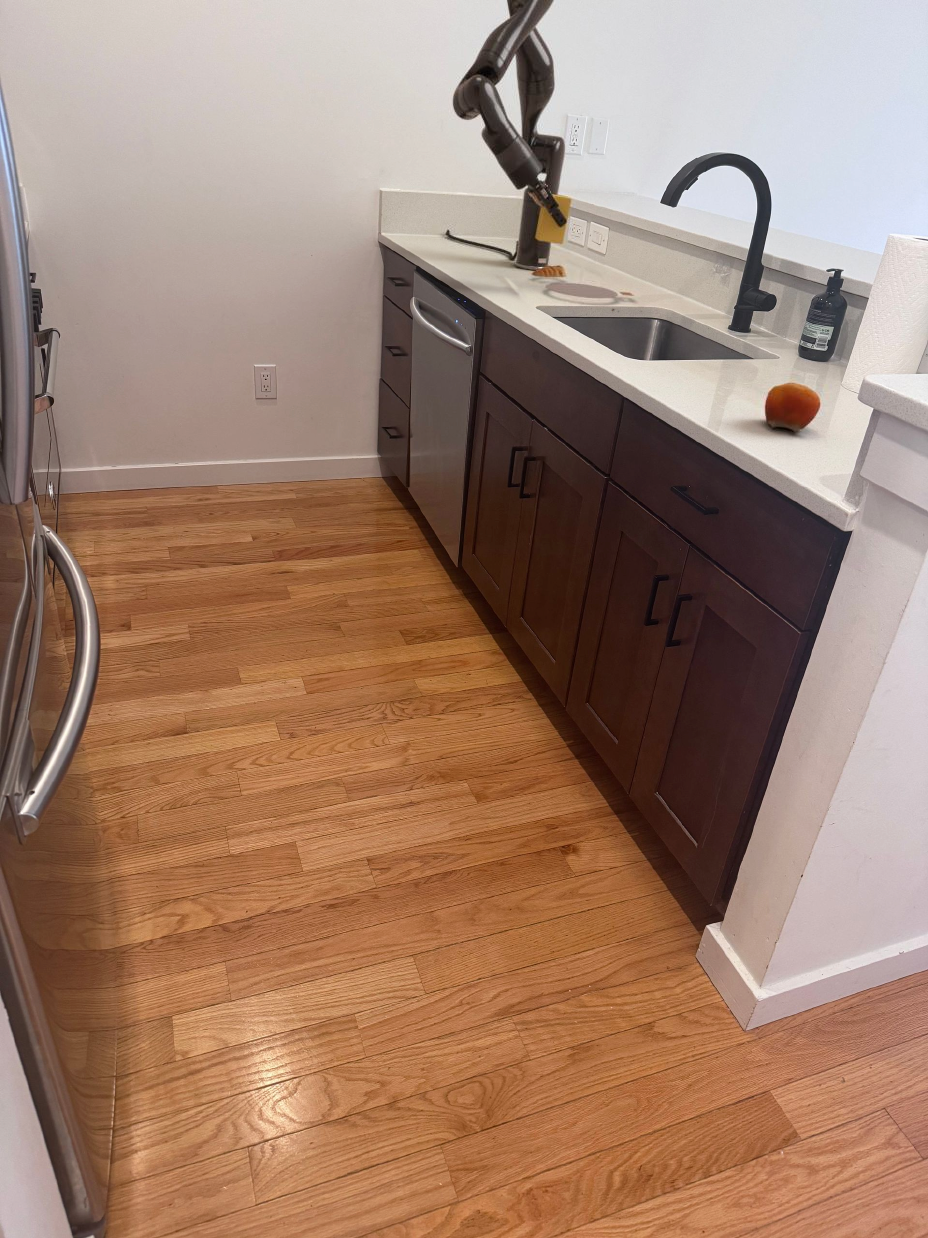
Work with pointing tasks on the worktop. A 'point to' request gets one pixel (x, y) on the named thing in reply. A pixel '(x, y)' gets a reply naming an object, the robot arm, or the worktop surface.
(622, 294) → the orange slab
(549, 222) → the sponge
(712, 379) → the worktop surface
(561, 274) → the pastry
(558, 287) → the plate
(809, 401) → the fruit
